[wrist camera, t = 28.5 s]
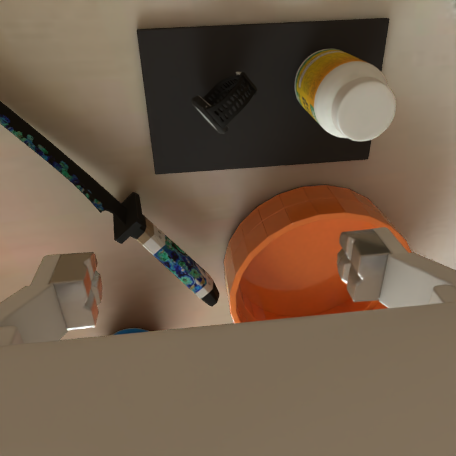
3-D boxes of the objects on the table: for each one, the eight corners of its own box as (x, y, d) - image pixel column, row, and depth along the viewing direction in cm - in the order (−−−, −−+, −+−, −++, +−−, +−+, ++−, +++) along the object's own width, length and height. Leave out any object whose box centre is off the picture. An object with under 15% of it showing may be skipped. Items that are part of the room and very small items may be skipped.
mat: (155, 171, 39) (155, 174, 39) (137, 29, 33) (136, 30, 32) (365, 157, 41) (368, 159, 40) (386, 17, 34) (389, 18, 34)
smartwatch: (185, 82, 35) (187, 98, 30) (245, 60, 34) (255, 73, 30) (202, 129, 37) (206, 149, 33) (259, 108, 36) (270, 126, 32)
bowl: (226, 328, 50) (232, 369, 45) (220, 190, 41) (226, 221, 36) (375, 314, 52) (397, 351, 46) (402, 177, 42) (433, 205, 37)
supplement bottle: (367, 70, 36) (424, 99, 28) (327, 124, 38) (369, 165, 30) (319, 33, 34) (365, 52, 26) (279, 91, 36) (310, 126, 28)
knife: (222, 277, 45) (223, 303, 40) (200, 293, 45) (199, 319, 41) (-25, 29, 33) (-57, 30, 29) (-49, 55, 34) (-83, 60, 30)
